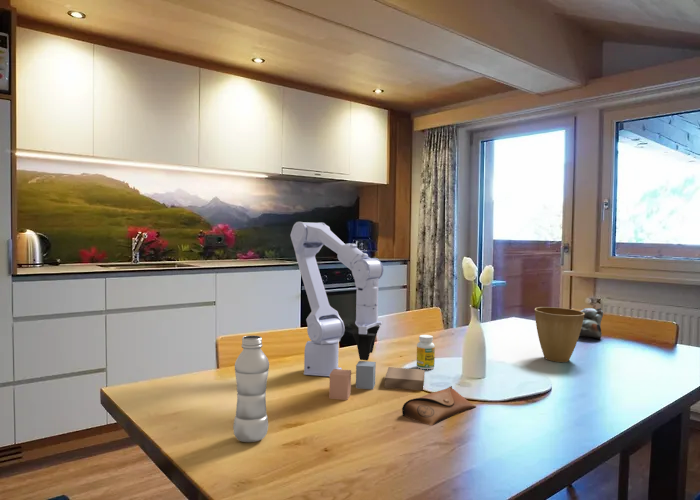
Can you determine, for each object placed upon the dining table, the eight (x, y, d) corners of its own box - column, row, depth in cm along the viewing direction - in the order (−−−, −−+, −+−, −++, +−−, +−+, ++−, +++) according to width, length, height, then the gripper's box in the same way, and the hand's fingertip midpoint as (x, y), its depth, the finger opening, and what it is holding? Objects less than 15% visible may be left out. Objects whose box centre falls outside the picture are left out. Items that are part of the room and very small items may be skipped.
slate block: (355, 388, 125) (356, 365, 125) (358, 382, 130) (359, 360, 130) (372, 389, 125) (373, 366, 124) (375, 384, 129) (375, 361, 129)
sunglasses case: (432, 426, 101) (420, 395, 104) (409, 434, 106) (398, 404, 108) (478, 406, 114) (466, 378, 116) (456, 414, 118) (445, 387, 120)
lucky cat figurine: (556, 333, 196) (563, 302, 201) (581, 345, 198) (588, 313, 202) (582, 330, 182) (589, 297, 187) (609, 342, 184) (615, 309, 188)
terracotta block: (329, 398, 118) (329, 374, 117) (333, 392, 122) (333, 368, 122) (347, 399, 117) (347, 375, 116) (350, 393, 121) (351, 370, 121)
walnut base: (384, 388, 126) (384, 377, 126) (388, 377, 136) (388, 367, 136) (423, 392, 125) (423, 380, 124) (424, 380, 134) (424, 369, 134)
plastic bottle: (235, 432, 97) (236, 333, 96) (269, 432, 97) (270, 333, 97) (230, 447, 90) (231, 341, 90) (267, 446, 91) (268, 341, 90)
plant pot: (532, 362, 153) (534, 312, 153) (533, 351, 167) (535, 305, 166) (584, 368, 148) (586, 316, 147) (581, 356, 161) (582, 309, 161)
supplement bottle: (425, 364, 149) (426, 333, 149) (438, 368, 144) (439, 336, 144) (412, 366, 146) (413, 335, 146) (424, 371, 141) (425, 338, 141)
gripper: (378, 309, 118) (378, 364, 119) (385, 301, 133) (384, 350, 133) (350, 308, 120) (349, 362, 120) (360, 300, 134) (359, 348, 135)
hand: (366, 356), depth 127 cm, fingers open, 7 cm apart
